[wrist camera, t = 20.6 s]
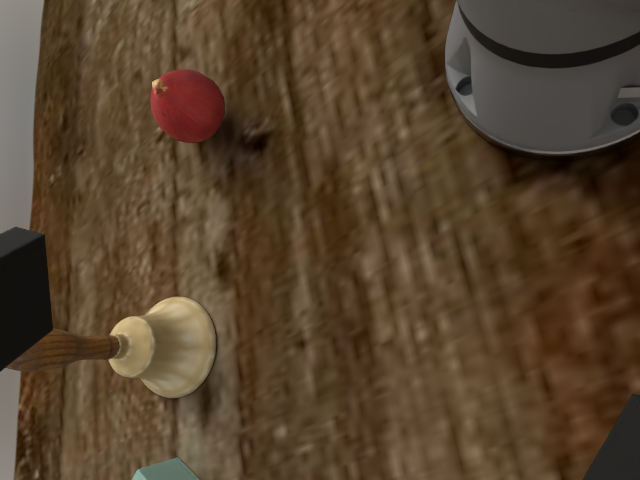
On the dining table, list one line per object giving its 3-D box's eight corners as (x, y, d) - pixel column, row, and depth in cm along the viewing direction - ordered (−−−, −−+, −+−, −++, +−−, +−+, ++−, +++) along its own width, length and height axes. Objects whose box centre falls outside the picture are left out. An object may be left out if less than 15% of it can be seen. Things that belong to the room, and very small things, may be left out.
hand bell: (230, 314, 40) (56, 297, 25) (196, 414, 39) (-1, 454, 25) (156, 284, 43) (-33, 255, 29) (125, 375, 43) (-83, 391, 28)
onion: (178, 138, 46) (111, 99, 38) (211, 85, 45) (150, 36, 38) (219, 166, 43) (154, 130, 36) (254, 110, 43) (196, 63, 35)
